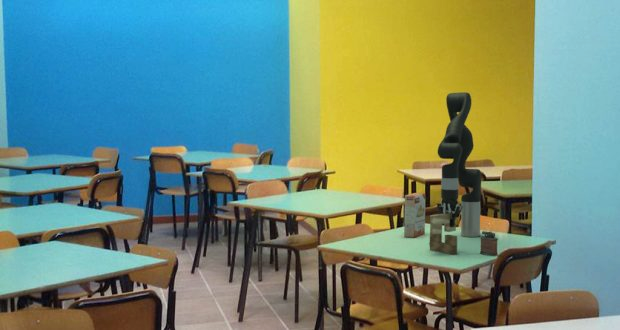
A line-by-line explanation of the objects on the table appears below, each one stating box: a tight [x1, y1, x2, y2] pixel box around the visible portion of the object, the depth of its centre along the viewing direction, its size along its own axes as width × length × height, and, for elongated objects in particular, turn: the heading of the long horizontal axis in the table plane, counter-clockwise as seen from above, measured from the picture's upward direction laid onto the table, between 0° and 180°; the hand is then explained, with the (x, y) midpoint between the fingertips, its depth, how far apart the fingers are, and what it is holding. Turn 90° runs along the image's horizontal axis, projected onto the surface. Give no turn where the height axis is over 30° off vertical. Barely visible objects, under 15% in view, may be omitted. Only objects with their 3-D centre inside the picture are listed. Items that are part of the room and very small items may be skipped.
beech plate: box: [429, 213, 457, 235], centre depth 334 cm, size 2×14×8 cm, turn 127°
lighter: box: [479, 230, 499, 257], centre depth 329 cm, size 8×3×10 cm, turn 48°
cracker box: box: [403, 192, 426, 239], centre depth 377 cm, size 14×6×21 cm, turn 150°
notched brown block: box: [429, 232, 458, 256], centre depth 335 cm, size 14×2×8 cm, turn 38°
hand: (449, 226), depth 337 cm, fingers closed on beech plate, 2 cm apart
